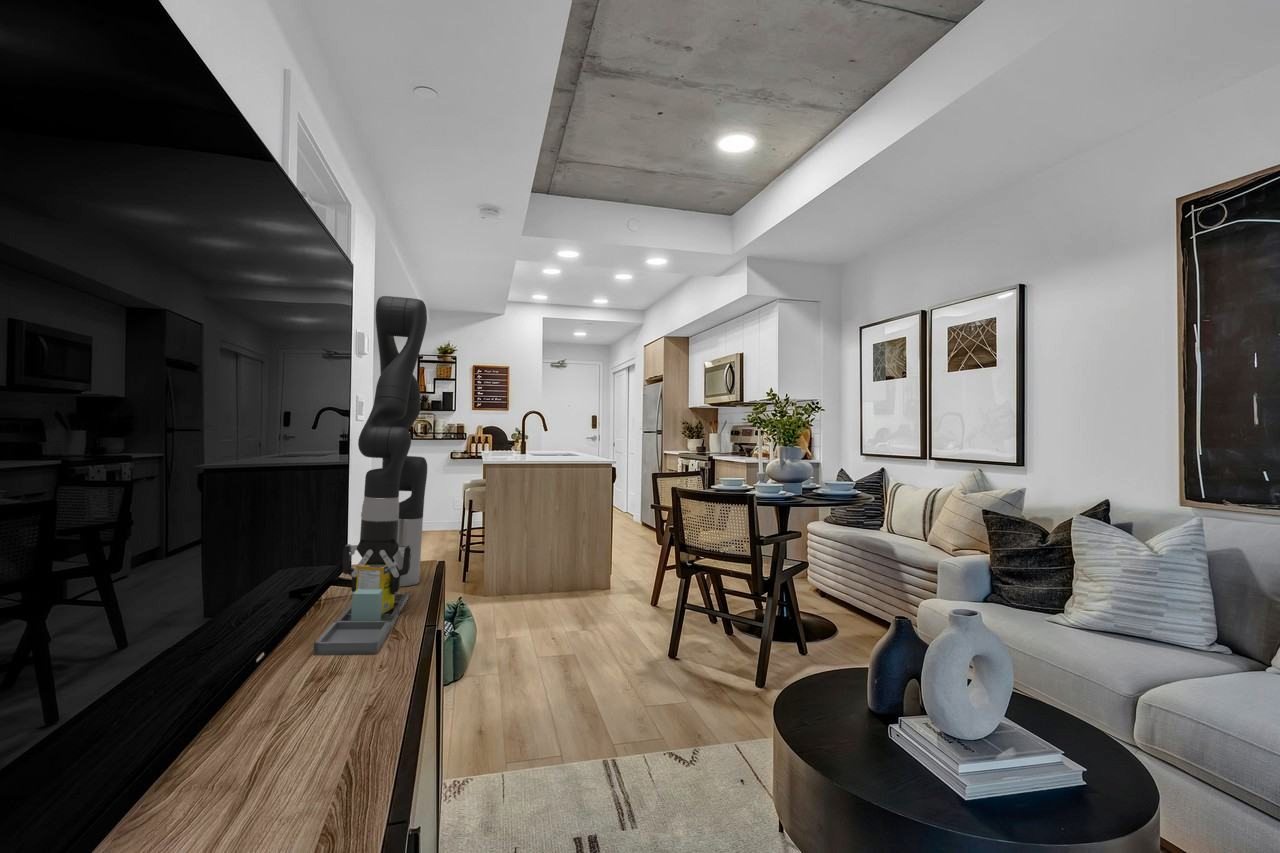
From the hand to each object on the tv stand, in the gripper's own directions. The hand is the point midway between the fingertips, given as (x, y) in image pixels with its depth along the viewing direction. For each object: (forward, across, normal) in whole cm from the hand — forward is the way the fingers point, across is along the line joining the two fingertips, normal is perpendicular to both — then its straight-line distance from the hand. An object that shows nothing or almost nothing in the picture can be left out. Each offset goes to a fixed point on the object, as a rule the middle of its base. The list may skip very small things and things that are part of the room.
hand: (375, 593), depth 138 cm
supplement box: (+5, 0, 0) cm, 5 cm away
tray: (+4, 0, +19) cm, 19 cm away
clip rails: (+4, 0, 0) cm, 4 cm away
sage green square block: (+4, 0, +8) cm, 10 cm away
